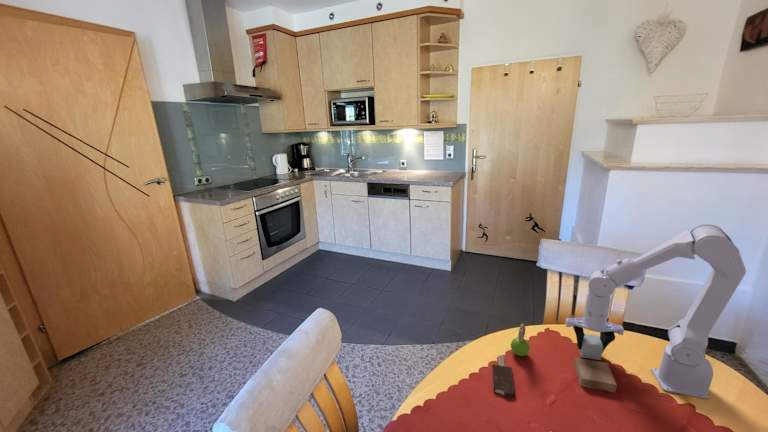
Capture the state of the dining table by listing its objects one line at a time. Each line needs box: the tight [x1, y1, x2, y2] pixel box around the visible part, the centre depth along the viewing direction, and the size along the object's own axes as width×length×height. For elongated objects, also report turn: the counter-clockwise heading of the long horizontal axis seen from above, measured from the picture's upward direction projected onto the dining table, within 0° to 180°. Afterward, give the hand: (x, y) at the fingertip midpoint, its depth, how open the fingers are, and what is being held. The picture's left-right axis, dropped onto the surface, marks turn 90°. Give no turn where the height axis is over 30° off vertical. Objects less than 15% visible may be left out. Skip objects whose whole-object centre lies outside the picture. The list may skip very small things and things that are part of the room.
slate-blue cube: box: [578, 332, 604, 361], centre depth 97 cm, size 5×5×5 cm
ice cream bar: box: [491, 355, 516, 399], centre depth 91 cm, size 5×2×15 cm
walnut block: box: [574, 357, 617, 394], centre depth 89 cm, size 8×8×3 cm
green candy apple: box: [510, 323, 531, 357], centre depth 97 cm, size 5×6×12 cm
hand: (589, 349), depth 97 cm, fingers closed on slate-blue cube, 5 cm apart
